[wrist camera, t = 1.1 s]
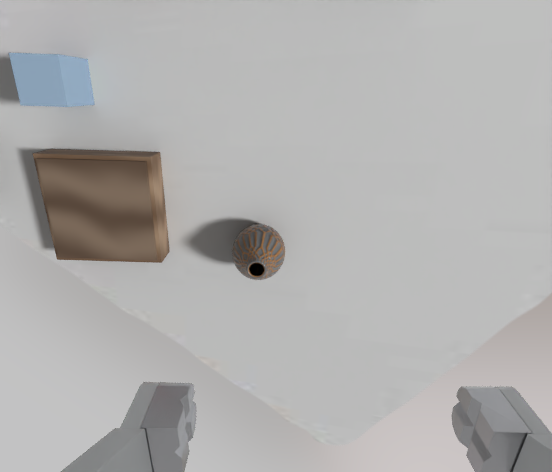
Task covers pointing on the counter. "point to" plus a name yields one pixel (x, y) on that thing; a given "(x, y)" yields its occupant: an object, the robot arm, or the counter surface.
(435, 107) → the counter surface
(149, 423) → the robot arm
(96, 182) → the walnut plinth
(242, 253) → the vase
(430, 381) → the counter surface
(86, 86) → the slate block
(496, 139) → the counter surface
